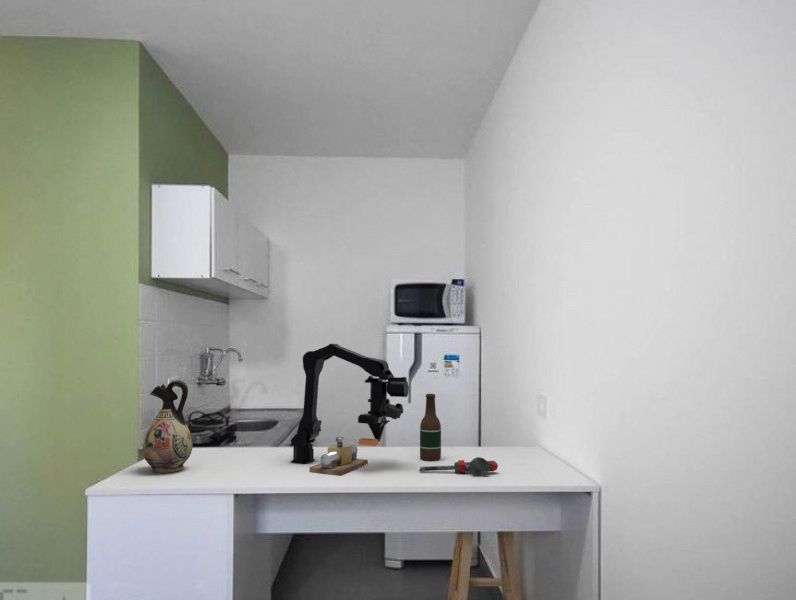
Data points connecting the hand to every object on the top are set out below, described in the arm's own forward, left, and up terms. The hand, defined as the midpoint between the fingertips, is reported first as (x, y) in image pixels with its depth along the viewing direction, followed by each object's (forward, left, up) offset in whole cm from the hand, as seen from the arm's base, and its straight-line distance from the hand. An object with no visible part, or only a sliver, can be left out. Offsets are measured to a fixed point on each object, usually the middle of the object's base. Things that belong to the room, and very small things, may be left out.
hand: (378, 441), depth 193 cm
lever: (-5, -6, 0) cm, 8 cm away
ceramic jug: (-60, -34, -9) cm, 70 cm away
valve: (+27, +7, -9) cm, 29 cm away
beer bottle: (+12, +21, -9) cm, 25 cm away
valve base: (-11, -6, -9) cm, 16 cm away
